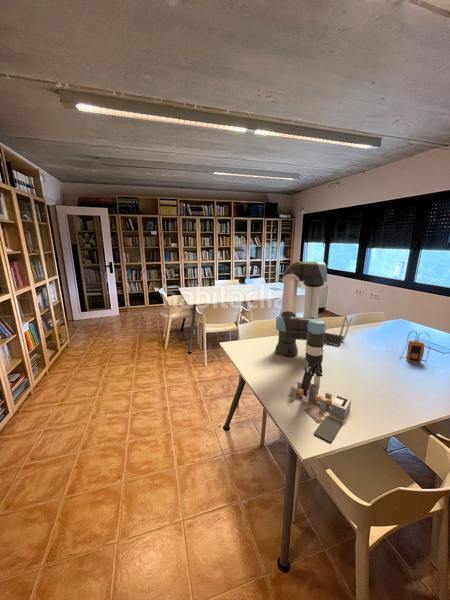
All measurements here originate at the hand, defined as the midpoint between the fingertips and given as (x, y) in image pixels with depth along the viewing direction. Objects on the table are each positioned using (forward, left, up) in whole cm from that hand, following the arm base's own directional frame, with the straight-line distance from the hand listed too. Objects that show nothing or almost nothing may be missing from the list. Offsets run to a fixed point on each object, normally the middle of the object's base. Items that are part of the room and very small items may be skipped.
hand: (311, 394), depth 118 cm
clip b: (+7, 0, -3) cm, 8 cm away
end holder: (+14, 0, -3) cm, 14 cm away
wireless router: (-22, +86, -3) cm, 88 cm away
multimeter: (+33, +85, -3) cm, 91 cm away
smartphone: (+13, -14, -3) cm, 20 cm away
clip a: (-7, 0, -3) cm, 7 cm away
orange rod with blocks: (+2, 0, -3) cm, 3 cm away
